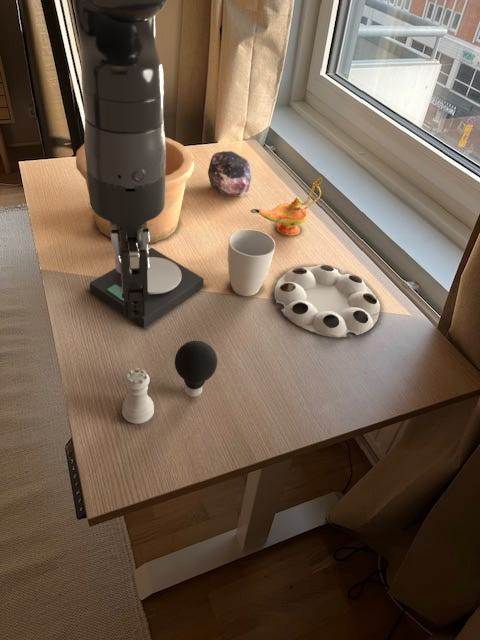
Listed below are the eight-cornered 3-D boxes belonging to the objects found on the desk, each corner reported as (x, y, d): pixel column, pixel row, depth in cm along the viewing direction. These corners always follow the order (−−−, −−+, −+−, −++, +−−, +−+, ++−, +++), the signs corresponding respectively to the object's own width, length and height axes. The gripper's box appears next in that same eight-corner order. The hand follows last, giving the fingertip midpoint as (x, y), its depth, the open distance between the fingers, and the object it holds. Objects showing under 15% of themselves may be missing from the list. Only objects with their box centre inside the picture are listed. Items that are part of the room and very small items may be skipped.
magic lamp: (238, 231, 109) (244, 183, 102) (304, 214, 117) (315, 169, 110) (255, 248, 105) (263, 200, 98) (323, 229, 113) (335, 184, 106)
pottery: (62, 212, 107) (53, 145, 97) (151, 185, 119) (151, 123, 109) (119, 265, 96) (116, 196, 86) (211, 230, 108) (217, 166, 98)
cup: (274, 297, 94) (283, 252, 88) (232, 304, 92) (239, 259, 85) (256, 270, 100) (264, 226, 93) (217, 277, 97) (221, 232, 90)
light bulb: (168, 383, 77) (170, 335, 70) (206, 375, 79) (211, 328, 72) (179, 414, 73) (182, 367, 66) (218, 405, 75) (225, 358, 68)
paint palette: (252, 289, 95) (254, 280, 94) (324, 256, 106) (326, 248, 104) (330, 353, 85) (332, 345, 84) (400, 310, 96) (404, 302, 94)
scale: (143, 328, 85) (143, 315, 83) (90, 291, 90) (88, 279, 88) (203, 287, 94) (204, 274, 92) (151, 256, 99) (151, 244, 97)
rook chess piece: (143, 394, 75) (142, 357, 70) (160, 415, 73) (161, 378, 67) (115, 409, 73) (112, 371, 67) (132, 431, 70) (131, 394, 65)
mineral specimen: (252, 175, 124) (257, 145, 115) (245, 210, 120) (249, 182, 111) (212, 167, 124) (213, 137, 115) (203, 202, 120) (204, 173, 111)
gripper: (84, 131, 54) (96, 257, 65) (88, 203, 44) (101, 336, 55) (156, 132, 56) (156, 254, 67) (175, 201, 46) (171, 331, 57)
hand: (131, 291), depth 61 cm, fingers open, 8 cm apart
